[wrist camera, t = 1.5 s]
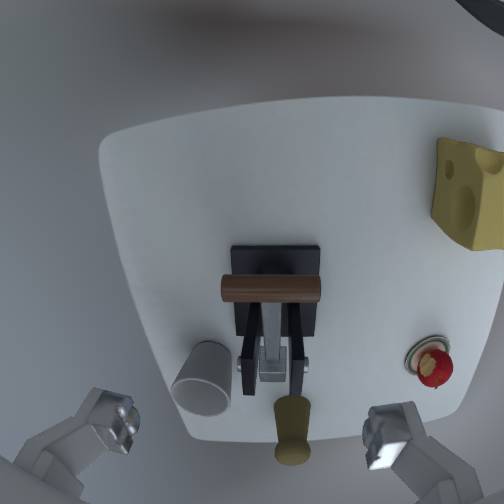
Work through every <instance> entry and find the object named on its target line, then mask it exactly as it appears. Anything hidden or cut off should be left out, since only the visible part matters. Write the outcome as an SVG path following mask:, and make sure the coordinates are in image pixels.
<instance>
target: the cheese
mask: <svg viewBox="0 0 504 504" xmlns="http://www.w3.org/2000/svg"><path fill="white" fill-rule="evenodd" d="M437 152H438V164H437V175H436V186H435V193H434V201H433V207H432V213H431V218H432V219H433V220H434V221H435V222H436V224H437V225H438V226H439V227H440V228H441V229H442V230H443V232H444V233H445V234H446V235H447V236H449V237H450V238H451V239H452V240H453V241H455V242H456V243H458V244H460V245H461V246H463V247H465V248H467V249H469V250H471V251H482V250H491V249H503V250H504V152H498V151H493V150H490V149H486V148H483V147H480V146H477V145H474V144H471V143H466V142H459V141H456V140H452V139H449V138H439V139H438V144H437Z"/></svg>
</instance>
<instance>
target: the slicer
mask: <svg viewBox="0 0 504 504" xmlns="http://www.w3.org/2000/svg"><path fill="white" fill-rule="evenodd" d="M230 251H231V266H232V274H237V275H319V266H320V247H319V246H232V247H231V250H230ZM316 308H317V302H316V303H282V306H281V337H289V387H290V396H301V392H302V383H303V374H304V373H307V372H308V367H309V360H308V357H305V355H304V344H303V337H311V336H314V330H315V319H316ZM234 310H235V323H236V335H237V336H244V340H243V346H242V352H241V356H238V360H237V370H238V372H241V375H242V387H243V395H252V396H254V395H255V387H256V378H257V368H258V358H259V348H260V338H261V336H263V337H264V335H263V323H262V312H261V303H258V302H234Z"/></svg>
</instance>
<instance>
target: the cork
mask: <svg viewBox="0 0 504 504" xmlns="http://www.w3.org/2000/svg"><path fill="white" fill-rule="evenodd" d="M310 407H311V405H310V402H309V401H308V400H307V399H306V398H304V397H301V396H285V397H283V398H280V399H279V400H277V401H276V403H275V404H274V412H275V420H276V427H277V435H278V442H279V443H278V444H277V446H276V448H275V458H276V460H277V461H278V462H279V463H281V464H284V465H288V466H295V465H300V464H302V463H305V462H306V461H307V460H308V459H309V457H310V453H311V450H310V446H309V444H308V443H307V434H308V425H309V416H310Z"/></svg>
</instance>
